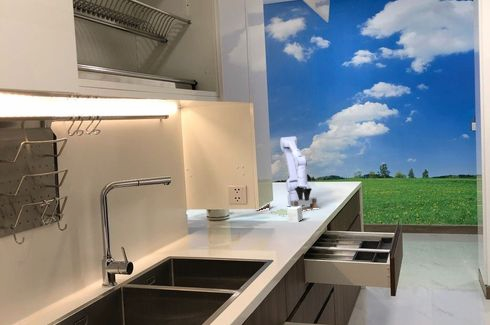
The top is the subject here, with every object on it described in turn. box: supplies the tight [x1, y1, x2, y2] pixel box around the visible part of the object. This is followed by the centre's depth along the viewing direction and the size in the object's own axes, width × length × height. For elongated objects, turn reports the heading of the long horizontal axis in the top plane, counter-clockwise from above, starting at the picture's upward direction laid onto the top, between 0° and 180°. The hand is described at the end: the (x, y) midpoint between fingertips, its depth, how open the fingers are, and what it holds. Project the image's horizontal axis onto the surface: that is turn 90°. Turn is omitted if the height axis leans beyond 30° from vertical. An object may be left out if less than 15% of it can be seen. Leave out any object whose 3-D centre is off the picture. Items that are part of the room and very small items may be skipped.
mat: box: [270, 208, 288, 217], centre depth 294 cm, size 20×9×1 cm, turn 22°
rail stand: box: [292, 199, 320, 211], centre depth 298 cm, size 8×15×6 cm, turn 112°
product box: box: [286, 207, 304, 223], centre depth 266 cm, size 6×6×7 cm
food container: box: [255, 202, 271, 211], centre depth 310 cm, size 12×6×10 cm, turn 130°
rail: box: [291, 196, 318, 206], centre depth 298 cm, size 16×3×3 cm, turn 112°
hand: (303, 199), depth 298 cm, fingers open, 7 cm apart
